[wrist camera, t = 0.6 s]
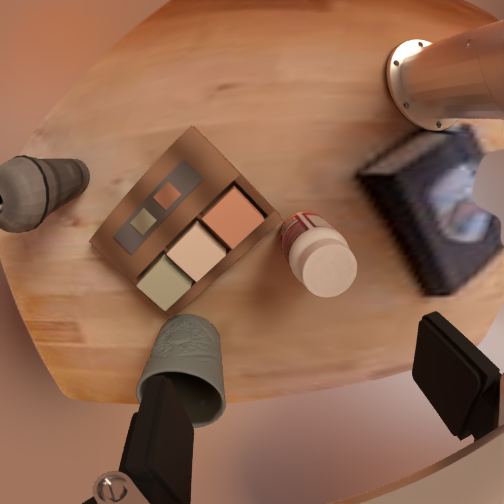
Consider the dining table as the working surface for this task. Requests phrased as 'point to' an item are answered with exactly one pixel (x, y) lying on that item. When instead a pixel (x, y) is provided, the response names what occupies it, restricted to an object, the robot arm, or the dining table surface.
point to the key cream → (197, 252)
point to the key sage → (164, 283)
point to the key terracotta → (233, 217)
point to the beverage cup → (37, 189)
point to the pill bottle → (317, 254)
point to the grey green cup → (189, 367)
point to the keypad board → (177, 212)
